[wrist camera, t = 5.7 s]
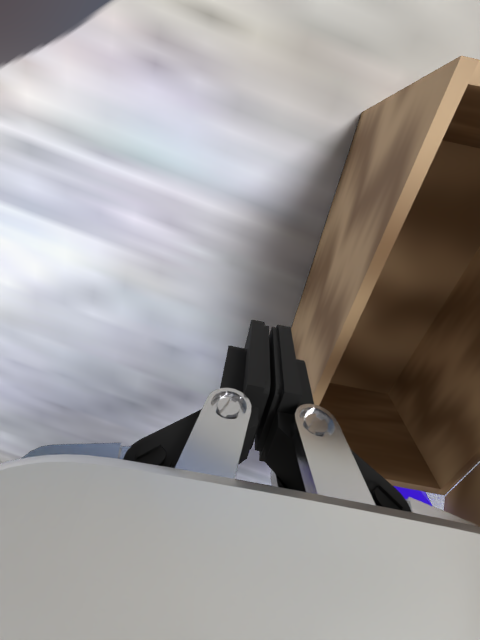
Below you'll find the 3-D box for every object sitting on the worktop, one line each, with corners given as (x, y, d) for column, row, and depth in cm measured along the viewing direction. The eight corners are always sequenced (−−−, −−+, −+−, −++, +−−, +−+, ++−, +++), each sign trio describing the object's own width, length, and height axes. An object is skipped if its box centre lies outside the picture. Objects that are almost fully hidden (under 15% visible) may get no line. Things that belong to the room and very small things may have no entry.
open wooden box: (361, 112, 17) (461, 55, 9) (540, 151, 18) (811, 135, 9) (276, 373, 28) (282, 465, 19) (388, 395, 28) (444, 495, 20)
